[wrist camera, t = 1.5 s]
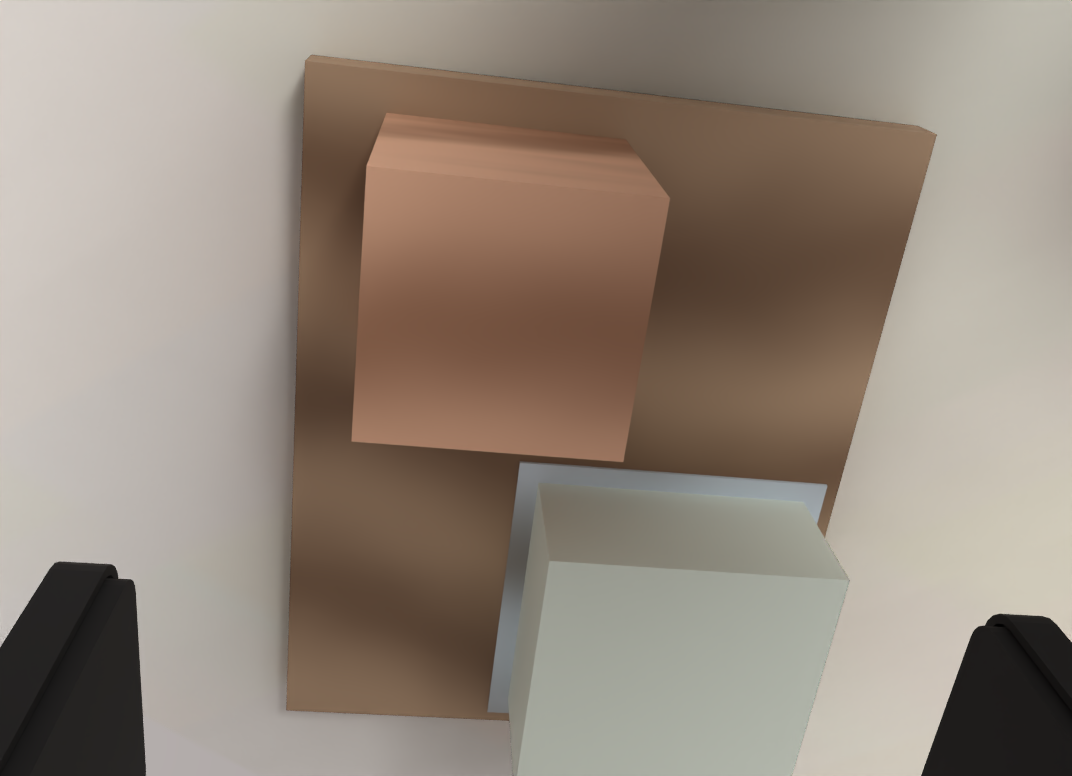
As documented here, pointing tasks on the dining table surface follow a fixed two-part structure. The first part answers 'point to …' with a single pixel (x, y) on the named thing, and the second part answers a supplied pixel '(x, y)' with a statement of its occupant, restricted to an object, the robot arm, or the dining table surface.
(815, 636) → the base block
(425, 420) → the top block
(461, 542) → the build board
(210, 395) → the dining table surface
